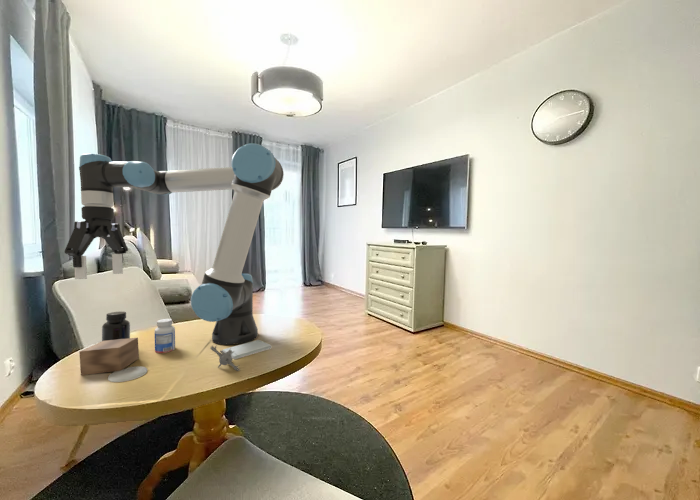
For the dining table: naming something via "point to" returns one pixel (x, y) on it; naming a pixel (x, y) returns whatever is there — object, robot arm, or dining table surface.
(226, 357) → the grey cross-shaped piece
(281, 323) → the dining table surface
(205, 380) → the dining table surface
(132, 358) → the walnut block
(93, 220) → the robot arm
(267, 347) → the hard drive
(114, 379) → the grey coaster
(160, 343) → the pill bottle
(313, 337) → the dining table surface
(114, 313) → the supplement bottle
